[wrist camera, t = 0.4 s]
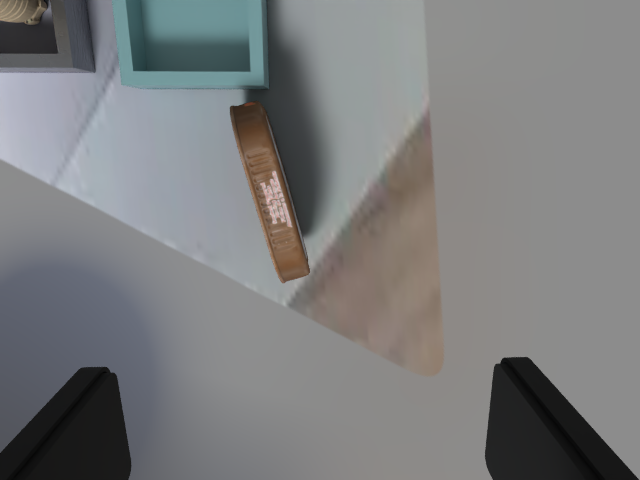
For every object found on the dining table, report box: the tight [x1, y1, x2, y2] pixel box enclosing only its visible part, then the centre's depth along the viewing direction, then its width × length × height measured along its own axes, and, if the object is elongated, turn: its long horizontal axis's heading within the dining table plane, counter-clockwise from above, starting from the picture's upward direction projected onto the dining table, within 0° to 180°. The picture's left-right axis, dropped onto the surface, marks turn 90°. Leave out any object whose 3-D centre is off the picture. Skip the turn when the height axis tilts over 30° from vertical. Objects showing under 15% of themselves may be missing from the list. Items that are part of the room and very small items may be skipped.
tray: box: [112, 0, 269, 89], centre depth 34 cm, size 11×11×4 cm
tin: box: [230, 101, 310, 283], centre depth 36 cm, size 15×3×8 cm, turn 15°
